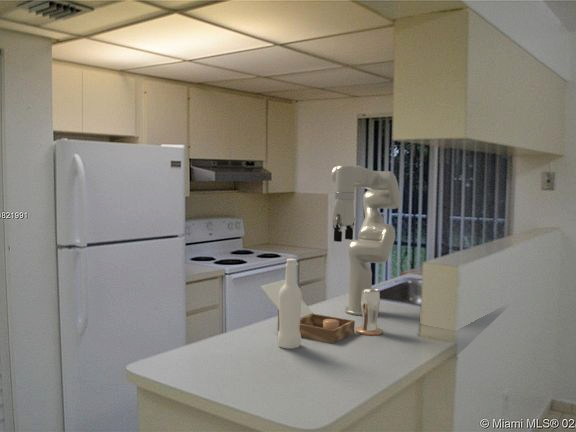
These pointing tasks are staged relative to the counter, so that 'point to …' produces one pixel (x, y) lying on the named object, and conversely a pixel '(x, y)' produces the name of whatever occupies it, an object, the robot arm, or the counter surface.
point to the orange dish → (360, 331)
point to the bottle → (290, 309)
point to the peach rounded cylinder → (330, 324)
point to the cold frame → (325, 334)
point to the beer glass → (370, 309)
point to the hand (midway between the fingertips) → (343, 240)
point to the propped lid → (273, 295)
